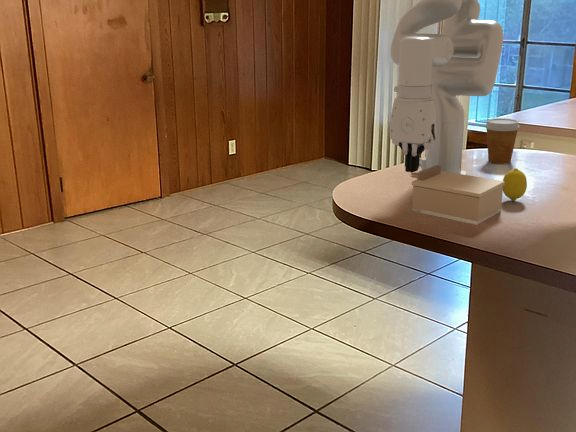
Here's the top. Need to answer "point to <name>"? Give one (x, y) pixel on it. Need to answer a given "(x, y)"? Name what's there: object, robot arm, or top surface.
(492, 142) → the disposable coffee cup
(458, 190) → the mailer lid
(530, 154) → the top surface
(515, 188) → the lemon
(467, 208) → the mailer box
